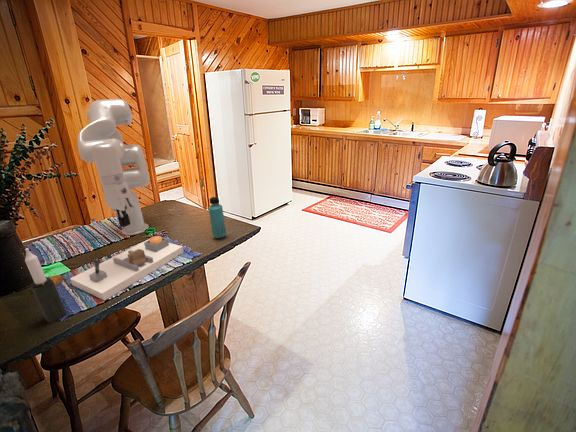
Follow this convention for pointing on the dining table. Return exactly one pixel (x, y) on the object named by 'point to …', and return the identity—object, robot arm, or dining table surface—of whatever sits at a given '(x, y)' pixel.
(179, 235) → the dining table surface
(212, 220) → the beverage bottle
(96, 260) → the toggle lever
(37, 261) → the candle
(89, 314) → the dining table surface
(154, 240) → the push button
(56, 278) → the pastry
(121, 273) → the control panel
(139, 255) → the slider knob
